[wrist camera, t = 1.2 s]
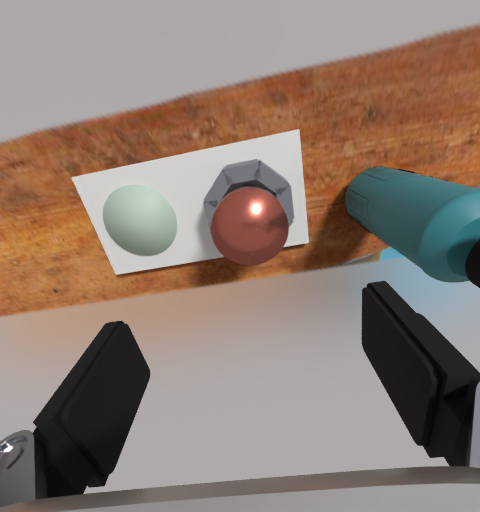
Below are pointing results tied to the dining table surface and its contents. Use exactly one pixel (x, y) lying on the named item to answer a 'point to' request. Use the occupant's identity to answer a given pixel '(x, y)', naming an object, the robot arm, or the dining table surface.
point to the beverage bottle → (421, 220)
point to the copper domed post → (249, 226)
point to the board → (188, 200)
